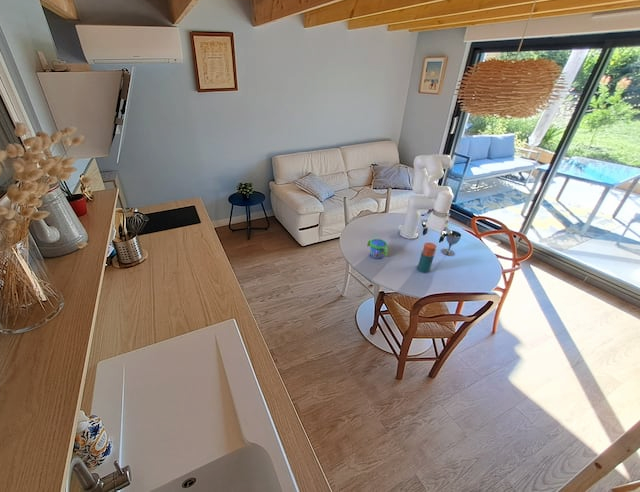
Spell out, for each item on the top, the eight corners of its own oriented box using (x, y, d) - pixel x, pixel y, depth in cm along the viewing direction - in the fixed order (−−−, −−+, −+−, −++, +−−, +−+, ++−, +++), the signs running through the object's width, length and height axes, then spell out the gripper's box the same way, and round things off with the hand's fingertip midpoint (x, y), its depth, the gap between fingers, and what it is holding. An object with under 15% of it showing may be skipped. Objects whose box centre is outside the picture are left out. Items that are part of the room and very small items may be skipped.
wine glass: (456, 256, 189) (463, 237, 181) (443, 255, 190) (449, 236, 183) (452, 249, 195) (458, 231, 188) (439, 248, 197) (445, 230, 189)
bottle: (415, 268, 178) (421, 247, 170) (421, 264, 182) (427, 243, 174) (425, 274, 173) (432, 252, 166) (431, 269, 177) (438, 248, 169)
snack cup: (362, 251, 195) (364, 239, 190) (374, 247, 199) (376, 235, 194) (378, 264, 182) (380, 251, 177) (390, 259, 186) (393, 246, 181)
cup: (420, 253, 172) (422, 244, 169) (425, 249, 175) (428, 241, 173) (430, 258, 168) (433, 249, 165) (435, 254, 171) (438, 245, 168)
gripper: (459, 216, 154) (450, 242, 163) (428, 205, 166) (421, 229, 175) (453, 220, 150) (443, 247, 159) (422, 208, 162) (415, 233, 171)
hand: (432, 238), depth 167 cm, fingers open, 9 cm apart
